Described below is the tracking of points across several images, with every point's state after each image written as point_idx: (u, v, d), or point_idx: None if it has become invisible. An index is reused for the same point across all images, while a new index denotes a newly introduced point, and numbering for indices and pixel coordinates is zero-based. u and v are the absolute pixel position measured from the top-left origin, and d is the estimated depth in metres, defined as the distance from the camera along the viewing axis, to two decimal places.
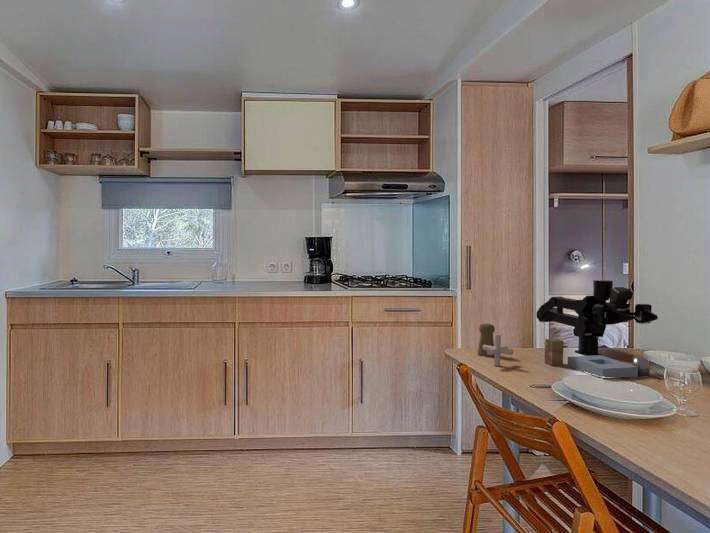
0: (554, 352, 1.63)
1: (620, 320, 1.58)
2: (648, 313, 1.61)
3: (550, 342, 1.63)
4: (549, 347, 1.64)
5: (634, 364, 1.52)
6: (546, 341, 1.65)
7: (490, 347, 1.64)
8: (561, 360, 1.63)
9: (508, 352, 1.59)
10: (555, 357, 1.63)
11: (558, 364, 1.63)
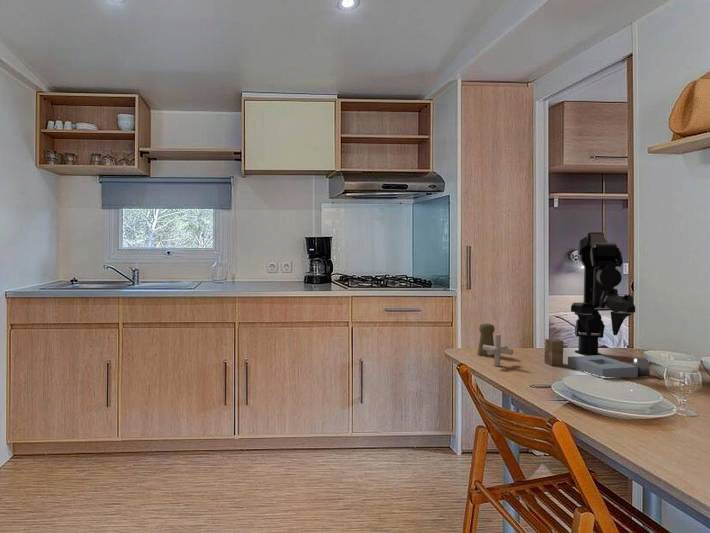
0: (554, 352, 1.63)
1: (583, 324, 1.56)
2: (617, 324, 1.56)
3: (550, 342, 1.63)
4: (549, 347, 1.64)
5: (634, 364, 1.52)
6: (546, 341, 1.65)
7: (490, 347, 1.64)
8: (561, 360, 1.63)
9: (508, 352, 1.59)
10: (555, 357, 1.63)
11: (558, 364, 1.63)
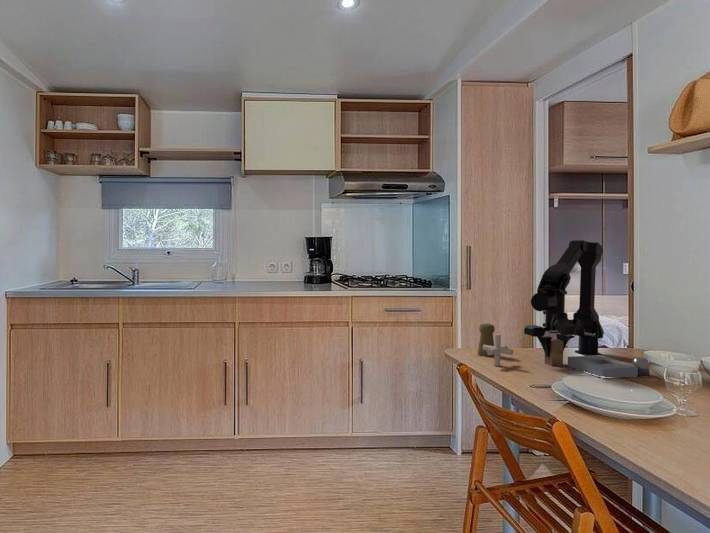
0: (554, 352, 1.63)
1: (542, 345, 1.65)
2: None
3: (550, 342, 1.63)
4: None
5: (634, 364, 1.52)
6: None
7: (490, 347, 1.64)
8: (561, 360, 1.63)
9: (508, 352, 1.59)
10: (555, 357, 1.63)
11: (558, 364, 1.63)
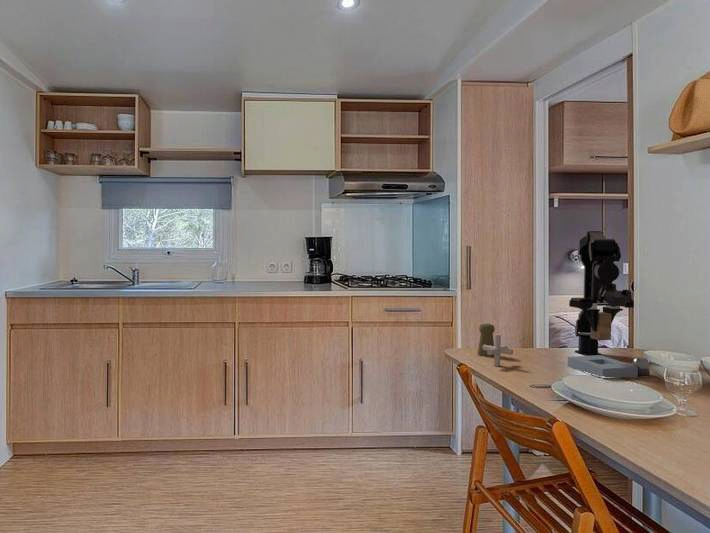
0: (602, 326, 1.54)
1: (589, 319, 1.56)
2: None
3: (597, 315, 1.54)
4: None
5: (634, 364, 1.52)
6: None
7: (490, 347, 1.64)
8: (609, 334, 1.54)
9: (508, 352, 1.59)
10: (603, 330, 1.54)
11: (606, 338, 1.54)
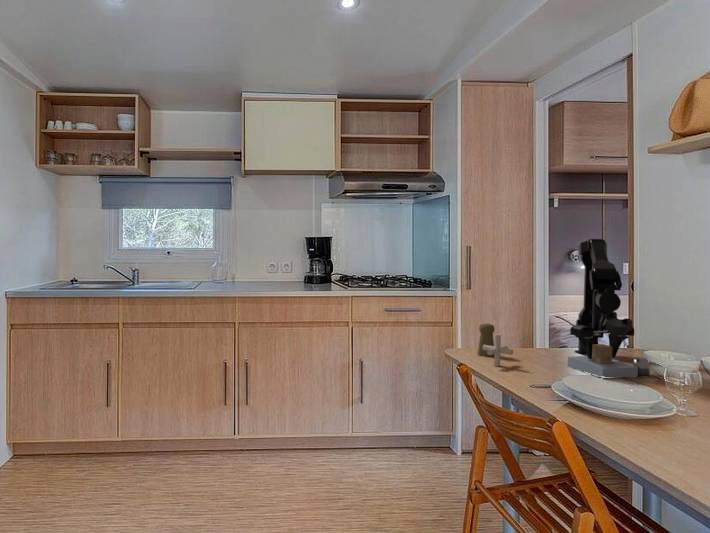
0: (603, 359, 1.54)
1: (584, 347, 1.56)
2: (615, 346, 1.56)
3: (598, 348, 1.55)
4: (597, 353, 1.55)
5: (634, 364, 1.52)
6: (593, 347, 1.57)
7: (490, 347, 1.64)
8: None
9: (508, 352, 1.59)
10: (603, 363, 1.54)
11: None
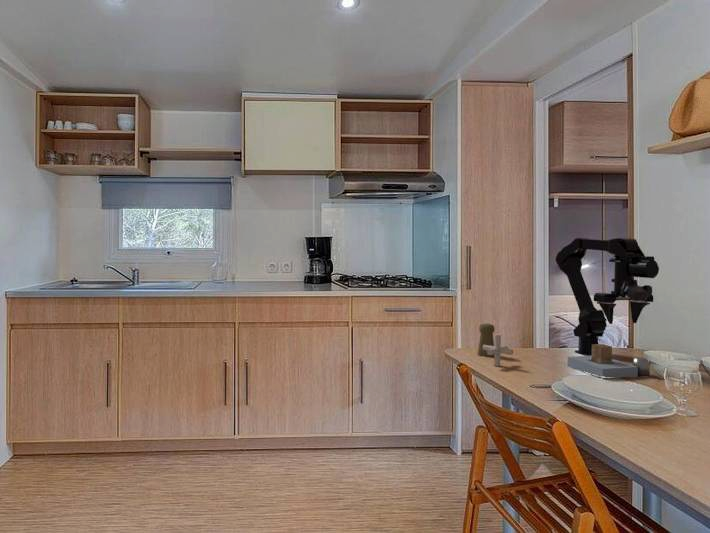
0: (603, 359, 1.54)
1: (605, 313, 1.68)
2: (636, 312, 1.68)
3: (598, 348, 1.55)
4: (597, 353, 1.55)
5: (634, 364, 1.52)
6: (593, 347, 1.57)
7: (490, 347, 1.64)
8: None
9: (508, 352, 1.59)
10: (603, 363, 1.54)
11: None
